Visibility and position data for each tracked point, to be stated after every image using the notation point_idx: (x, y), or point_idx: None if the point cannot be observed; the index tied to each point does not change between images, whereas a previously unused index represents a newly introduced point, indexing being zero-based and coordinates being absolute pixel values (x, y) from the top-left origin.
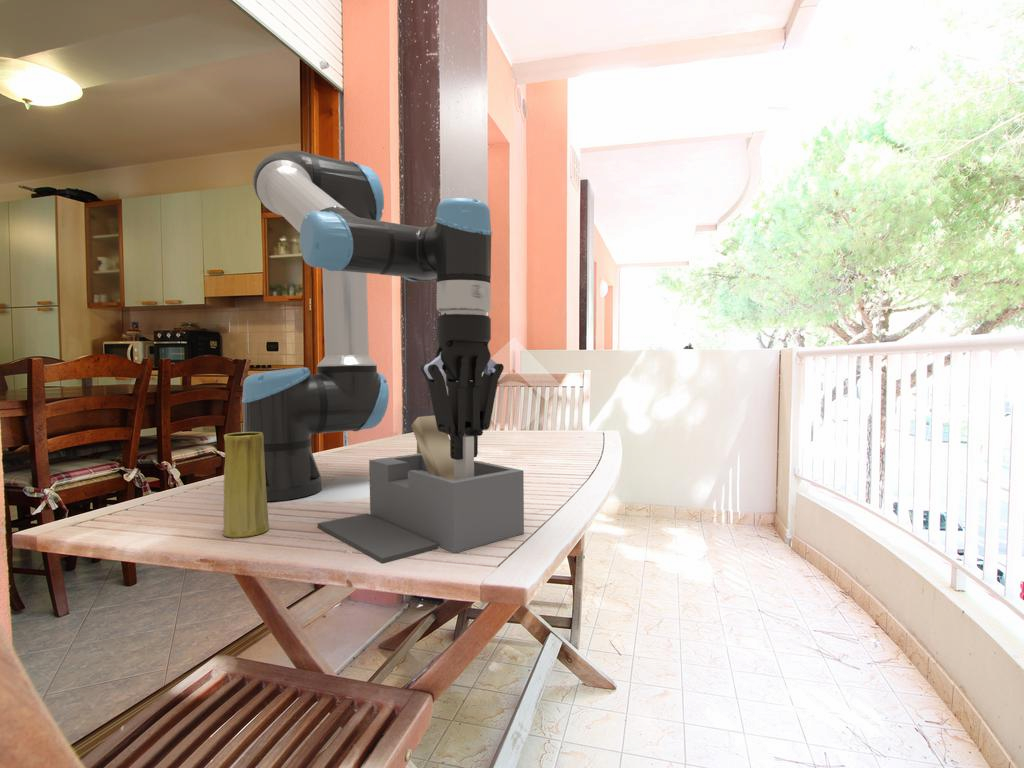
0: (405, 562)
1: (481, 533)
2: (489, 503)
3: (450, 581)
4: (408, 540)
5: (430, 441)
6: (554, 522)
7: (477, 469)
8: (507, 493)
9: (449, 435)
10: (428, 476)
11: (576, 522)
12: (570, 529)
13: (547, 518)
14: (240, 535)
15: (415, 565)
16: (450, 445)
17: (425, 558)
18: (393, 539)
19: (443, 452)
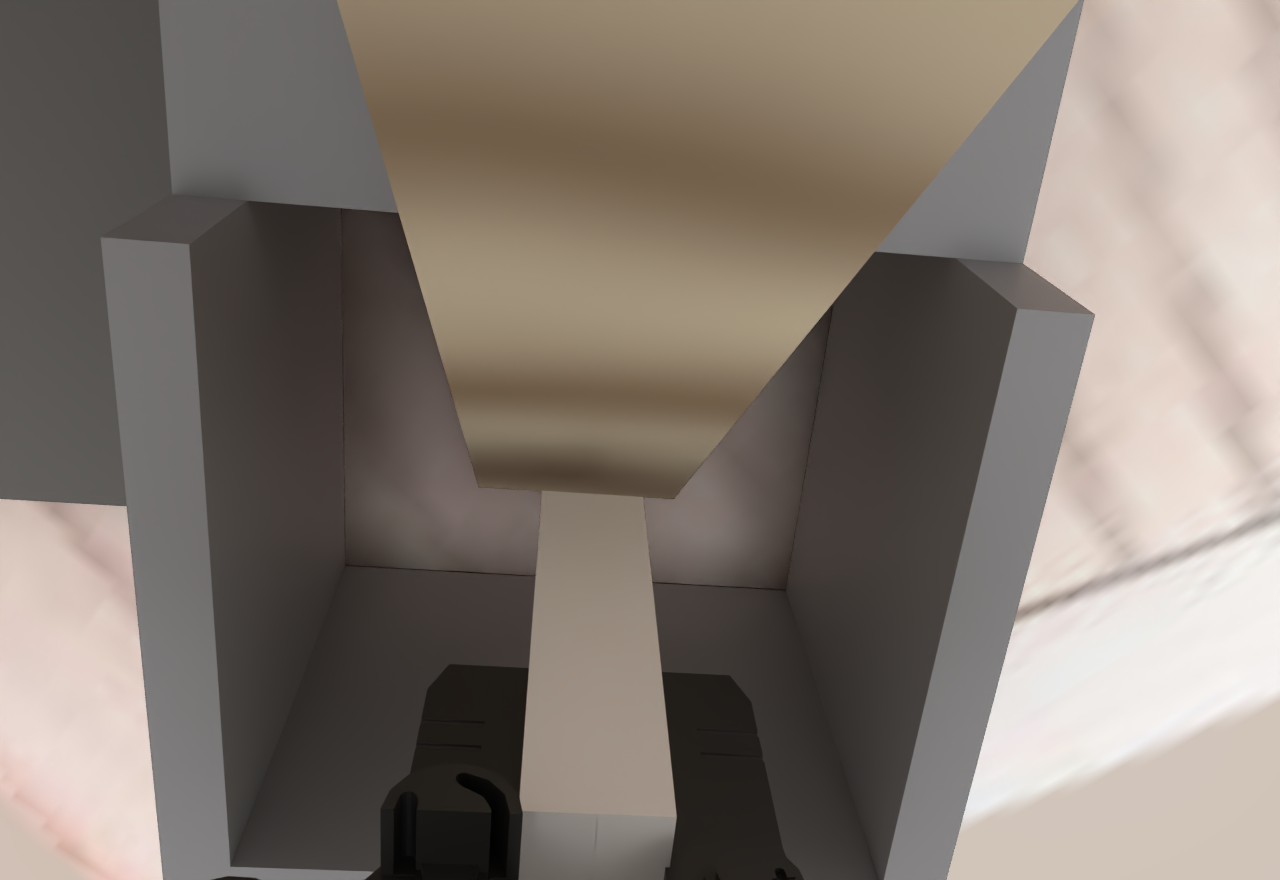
0: (9, 548)
1: None
2: None
3: (81, 852)
4: None
5: (470, 231)
6: (1120, 625)
7: (963, 402)
8: None
9: (373, 876)
10: (139, 616)
11: (1191, 707)
12: (1047, 759)
13: (1177, 543)
14: None
15: (36, 616)
16: (413, 771)
17: (131, 573)
18: (73, 244)
19: (621, 321)
